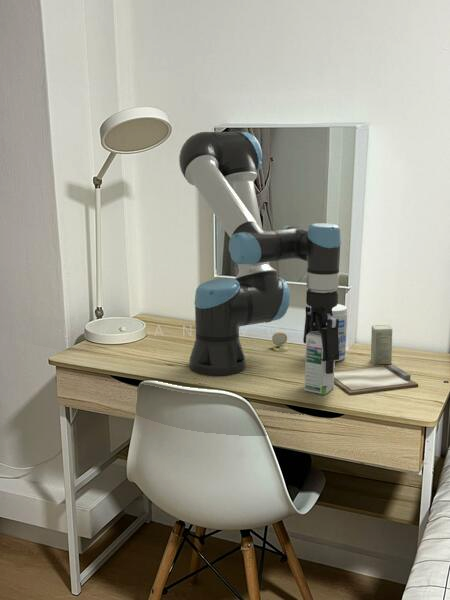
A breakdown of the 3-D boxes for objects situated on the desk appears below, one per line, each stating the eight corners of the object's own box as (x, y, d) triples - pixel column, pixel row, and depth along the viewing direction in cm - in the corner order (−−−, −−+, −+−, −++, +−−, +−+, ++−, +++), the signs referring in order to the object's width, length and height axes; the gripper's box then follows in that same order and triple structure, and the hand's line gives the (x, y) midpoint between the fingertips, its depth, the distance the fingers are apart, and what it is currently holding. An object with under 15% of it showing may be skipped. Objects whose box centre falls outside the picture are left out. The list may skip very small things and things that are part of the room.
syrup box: (303, 391, 172) (305, 334, 169) (313, 383, 177) (315, 328, 174) (325, 395, 169) (327, 338, 166) (334, 388, 174) (336, 332, 171)
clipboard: (323, 374, 184) (323, 368, 183) (387, 367, 189) (387, 360, 189) (349, 394, 170) (349, 387, 169) (418, 386, 175) (418, 379, 175)
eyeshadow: (274, 352, 202) (275, 335, 201) (271, 347, 207) (271, 331, 206) (289, 351, 202) (290, 335, 201) (286, 346, 207) (286, 330, 206)
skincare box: (388, 359, 195) (390, 324, 193) (391, 364, 191) (393, 329, 189) (369, 359, 196) (371, 324, 193) (372, 364, 191) (374, 329, 189)
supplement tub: (338, 365, 191) (340, 313, 187) (305, 359, 195) (307, 308, 192) (350, 355, 199) (352, 305, 196) (319, 350, 204) (320, 301, 200)
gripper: (357, 297, 158) (353, 392, 164) (318, 279, 178) (315, 364, 183) (327, 300, 156) (323, 395, 162) (291, 281, 176) (289, 367, 181)
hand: (319, 379), depth 172 cm, fingers closed on syrup box, 8 cm apart
